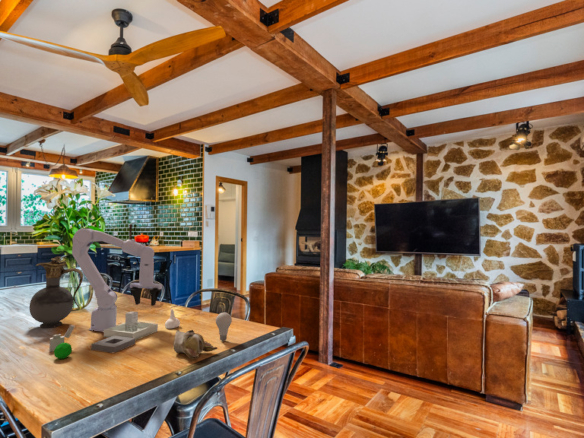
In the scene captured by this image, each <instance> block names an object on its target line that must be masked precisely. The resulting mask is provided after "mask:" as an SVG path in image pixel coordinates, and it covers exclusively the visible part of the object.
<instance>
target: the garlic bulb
mask: <svg viewBox="0 0 584 438" xmlns="http://www.w3.org/2000/svg"><path fill="white" fill-rule="evenodd" d="M180 324H181V322H180V320H179V318H177V317H176V315H175V311H174V309H173V308H171V309H170V315H169V318H168V319H167V320H166V321H165V323H164V326H165V328H166V329H169V330H170V329H175V328H179V327H180V326H181V325H180Z"/></svg>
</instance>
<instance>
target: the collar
mask: <svg viewBox="0 0 584 438" xmlns="http://www.w3.org/2000/svg"><path fill="white" fill-rule="evenodd" d="M135 344H136V340H135V338H128V337H120V336H112V337H109V338H104V339H101V340H98V341H95V342H93V343H91V346H90V348H91V351H99V352H105V353H109V354H110V353H111V354H115V353H117V352H120V351H123V350H125V349H127V348H129V347H131V345H132V346H133V345H135Z"/></svg>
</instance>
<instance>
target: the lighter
mask: <svg viewBox="0 0 584 438" xmlns="http://www.w3.org/2000/svg"><path fill="white" fill-rule="evenodd" d="M75 327H76V326H75V325H74V324H70V325H69V327H68V328H67V330H66V332H65V333H64V335H62V334H61V333H58V334H53V335H52V337H49V347H48V348H49V349H48V350H49V351H48V352H50V353H51V352H54V350H55V348H56V346H58V345H59V344H61V343H65V338H67V339H69V338H70V336H71V334H72V333H73V331H74V328H75ZM61 335H62V336H61Z"/></svg>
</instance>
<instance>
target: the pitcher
mask: <svg viewBox="0 0 584 438" xmlns="http://www.w3.org/2000/svg"><path fill="white" fill-rule="evenodd" d="M50 260H51V261H49V262H48V261H47V262H39V263H37V264H36V265H35V266H36V267H37V266H41V267H43V269H44V270H45V287H43V288H42V289H39V290H38V291H36V292H35V293H34V294H33V296H32V298H31V299H30V302H29V306H28V307H29V314H30V316H31V318H33V319H34V321H36V322H38V323H41V324H40V325H39V328H41V329H49V328H51V329H52V328H57V327H60V326H62V325H63V320H64V319H66V318H67V317H69V315H70V314H71V312H72V311H73V308H74V304H75V306H77V308H78V309H79V308H80V306H79V304H78V303H77V301H76V295H77V292H78V291H79V289H80V287H81V285H82V283H83V280H84V279H83V278H84V273H83V271H82V270H81V269H79V268H77V267H76V268H75V267H71V268H67V269H66V268H64V266H65V265H66V264H67V262H68V260H63V261H62V257H61V256H55V257H54V258H53V257H52V258H51V259H50ZM61 261H62V262H61ZM71 272H73V273H77V274H78V275H79V281H78V284H77V287H76V288H75V291H74V292H73V295H72V293H71V291H70V290H69V289H67V288H65V287H62V286H61V285H60V283H61V277H62V275H64V274H68V273H71Z"/></svg>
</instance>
